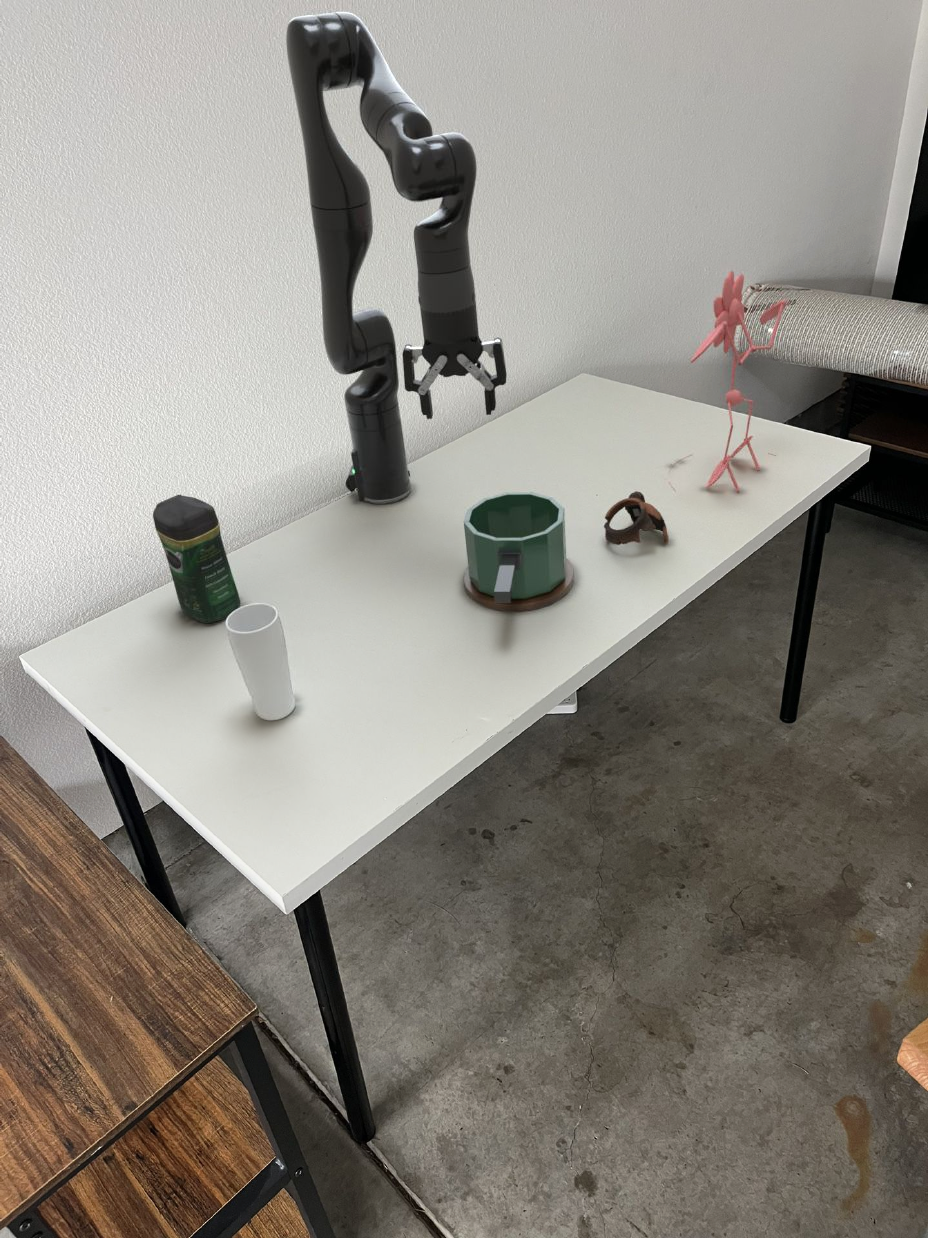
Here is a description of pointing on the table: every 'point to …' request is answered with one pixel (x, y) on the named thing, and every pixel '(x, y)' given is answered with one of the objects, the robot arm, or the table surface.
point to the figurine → (728, 317)
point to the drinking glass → (262, 658)
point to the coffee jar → (196, 558)
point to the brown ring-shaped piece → (634, 520)
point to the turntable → (521, 604)
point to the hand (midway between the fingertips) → (459, 414)
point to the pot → (516, 545)
